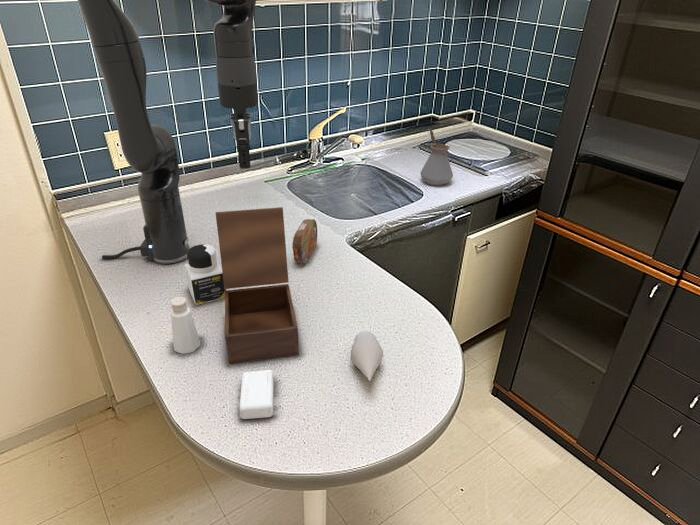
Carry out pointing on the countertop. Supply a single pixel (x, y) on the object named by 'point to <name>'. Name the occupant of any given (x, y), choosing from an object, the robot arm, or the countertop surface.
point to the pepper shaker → (183, 327)
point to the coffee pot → (437, 165)
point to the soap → (256, 394)
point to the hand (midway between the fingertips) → (244, 161)
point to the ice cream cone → (366, 353)
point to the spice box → (260, 324)
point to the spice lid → (252, 247)
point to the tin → (305, 241)
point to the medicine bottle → (204, 274)
